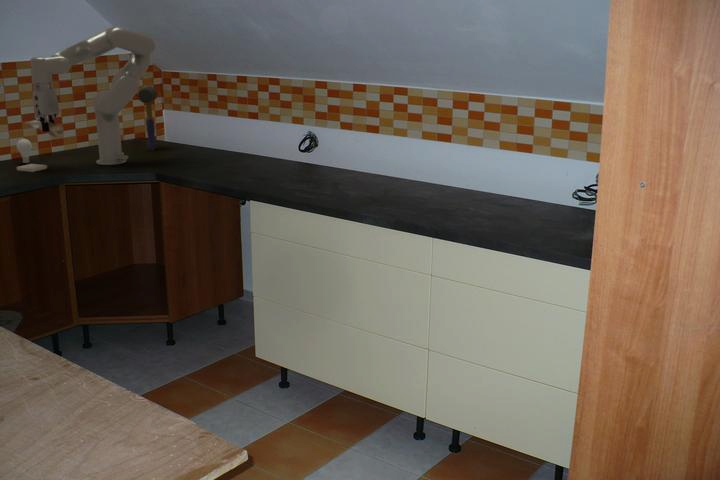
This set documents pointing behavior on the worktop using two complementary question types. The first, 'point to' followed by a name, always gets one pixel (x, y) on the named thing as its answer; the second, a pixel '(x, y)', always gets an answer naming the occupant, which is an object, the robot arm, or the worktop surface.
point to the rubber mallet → (149, 112)
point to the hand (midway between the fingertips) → (49, 130)
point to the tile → (32, 167)
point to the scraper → (53, 128)
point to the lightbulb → (24, 149)
